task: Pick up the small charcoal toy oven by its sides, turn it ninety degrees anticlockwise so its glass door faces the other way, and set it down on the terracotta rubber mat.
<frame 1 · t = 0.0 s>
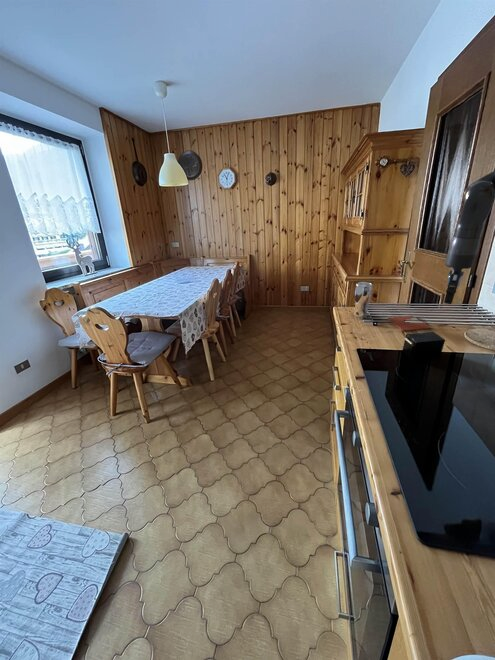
hand: (448, 299, 97), 18 cm above the counter, tool pointing down, fingers open, 8 cm apart
toy oven: (420, 354, 100), on the counter
mat: (408, 323, 121), on the counter
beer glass: (360, 315, 131), on the counter
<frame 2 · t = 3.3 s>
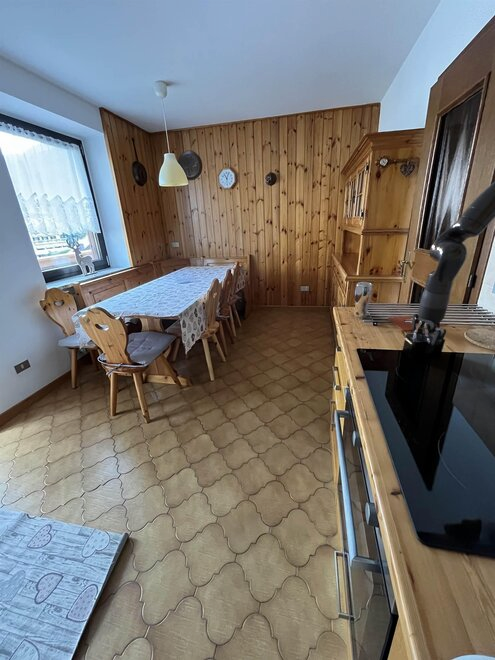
hand: (422, 347, 99), 3 cm above the counter, tool pointing down, fingers closed on toy oven, 6 cm apart
toy oven: (420, 354, 100), on the counter, touching gripper
everything else where it was.
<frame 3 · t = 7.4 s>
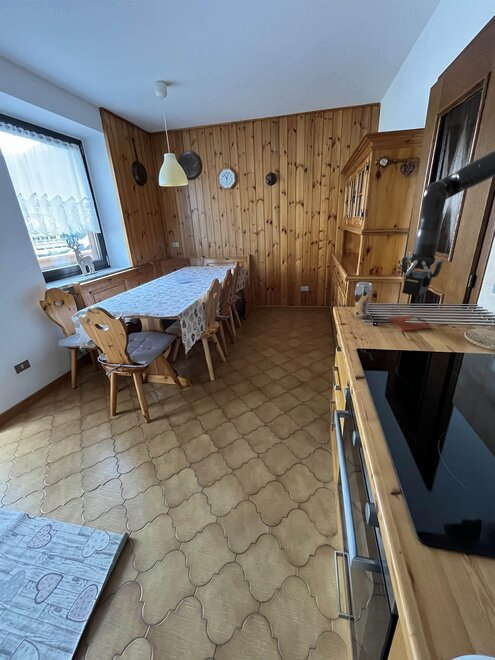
hand: (416, 285, 112), 18 cm above the counter, tool pointing down, fingers closed on toy oven, 6 cm apart
toy oven: (415, 291, 113), point 15 cm above the counter, touching gripper
everything else where it was.
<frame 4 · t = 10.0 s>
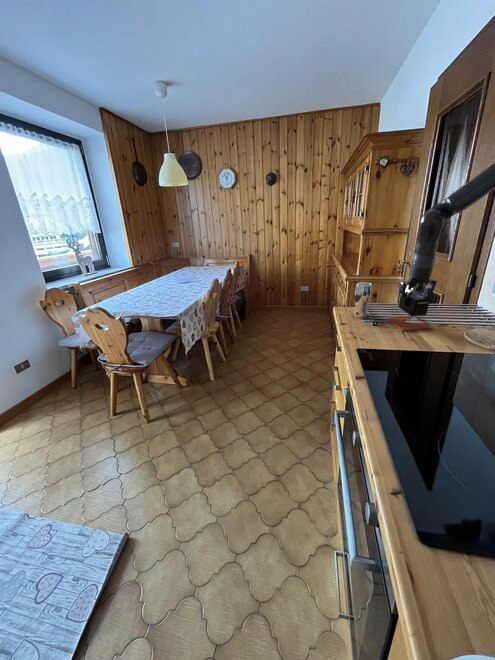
hand: (413, 304, 117), 9 cm above the counter, tool pointing down, fingers closed on toy oven, 6 cm apart
toy oven: (411, 310, 118), point 6 cm above the counter, touching gripper
everything else where it was.
when the fingers open (3 cm above the counter, at t = 11.8 s): toy oven stays where it is, resting on mat.
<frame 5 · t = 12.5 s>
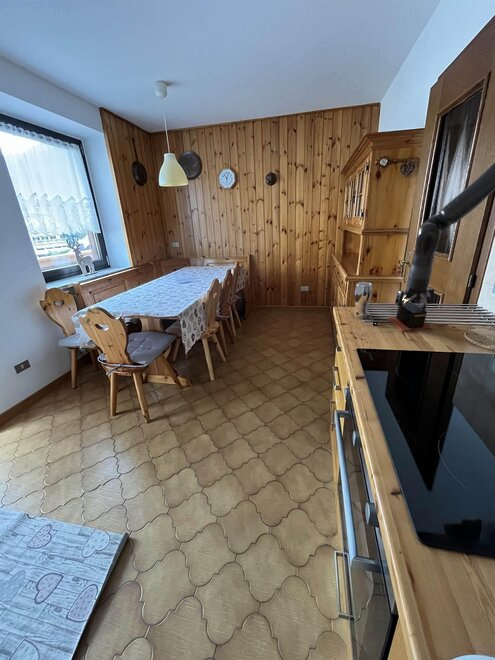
hand: (411, 313, 118), 5 cm above the counter, tool pointing down, fingers open, 8 cm apart
toy oven: (409, 322, 120), resting on mat
everything else where it was.
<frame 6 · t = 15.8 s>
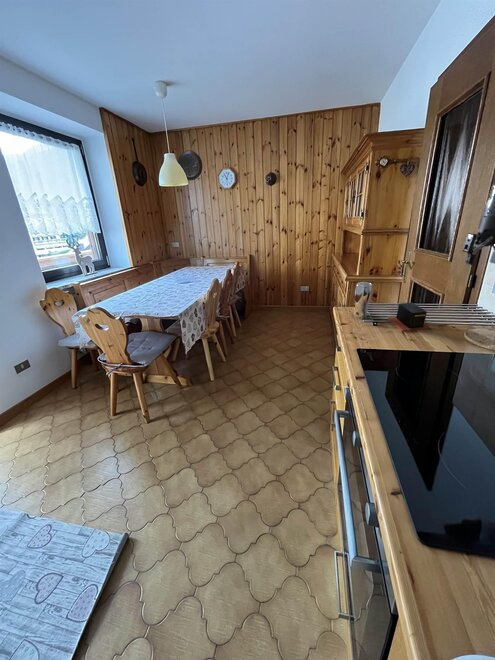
hand: (481, 263, 97), 28 cm above the counter, tool pointing down, fingers open, 8 cm apart
nothing on the counter moved.
at the end: toy oven 0.1 cm off-centre on the mat, point 0.5 cm above the mat's base; toy oven tilted 0°; the gripper is holding nothing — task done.
